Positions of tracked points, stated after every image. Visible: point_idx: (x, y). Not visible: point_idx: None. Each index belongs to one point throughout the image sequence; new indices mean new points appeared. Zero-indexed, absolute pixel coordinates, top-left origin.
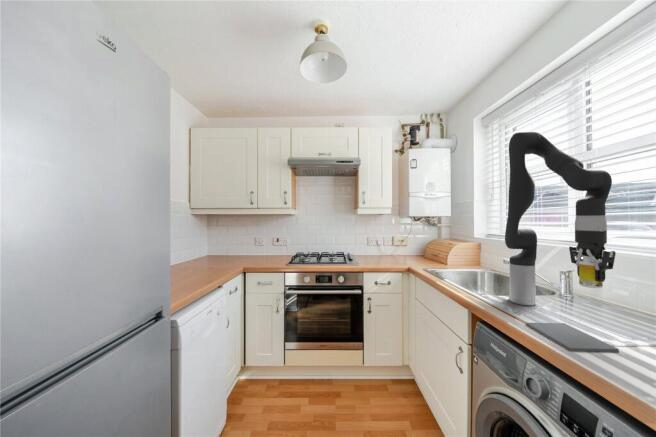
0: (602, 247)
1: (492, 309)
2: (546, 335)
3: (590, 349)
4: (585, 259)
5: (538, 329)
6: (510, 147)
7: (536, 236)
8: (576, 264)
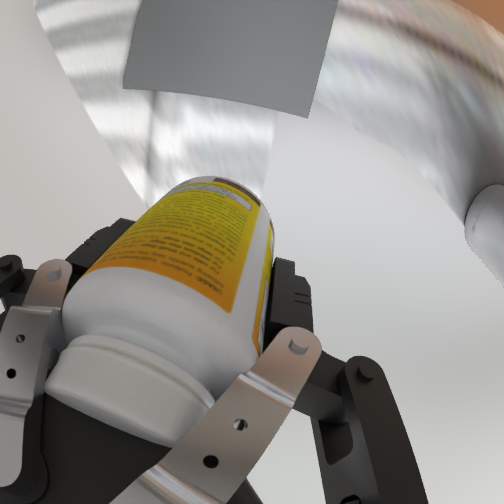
0: None
1: (477, 44)
2: None
3: (138, 20)
4: (101, 352)
5: None
6: None
7: None
8: (306, 336)
